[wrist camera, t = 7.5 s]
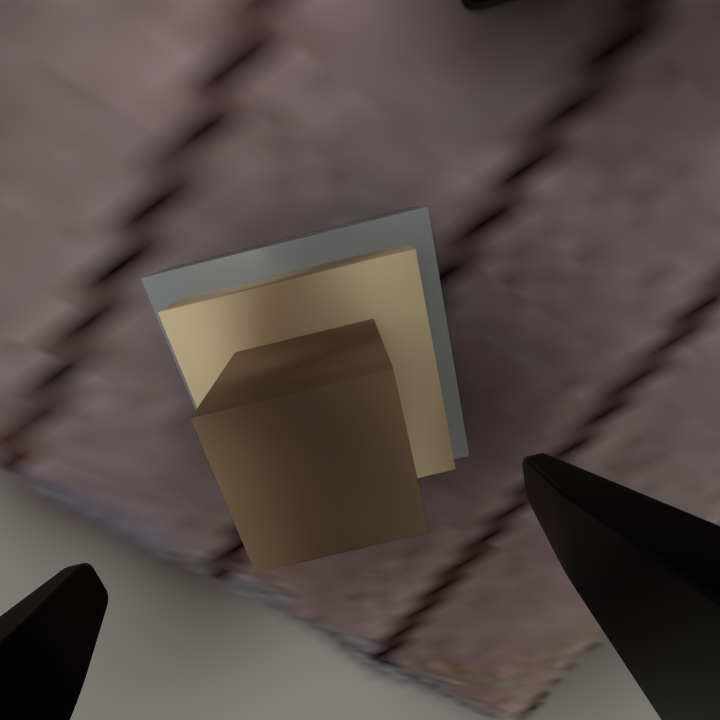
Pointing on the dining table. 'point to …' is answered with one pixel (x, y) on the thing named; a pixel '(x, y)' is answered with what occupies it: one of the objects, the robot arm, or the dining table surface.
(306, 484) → the walnut cube
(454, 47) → the dining table surface
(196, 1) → the dining table surface
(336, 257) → the slate slab
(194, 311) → the oak block
